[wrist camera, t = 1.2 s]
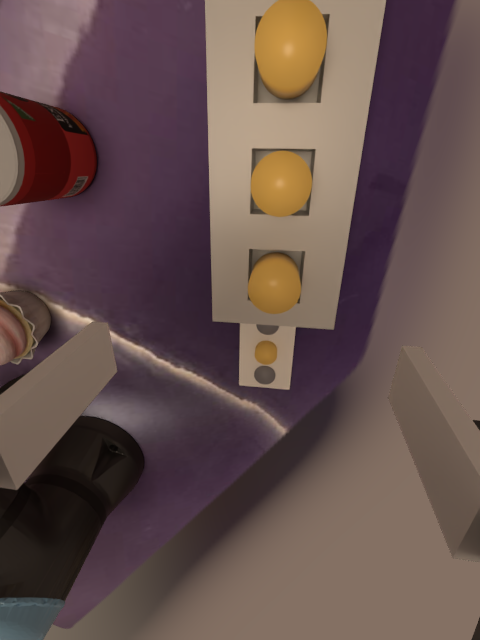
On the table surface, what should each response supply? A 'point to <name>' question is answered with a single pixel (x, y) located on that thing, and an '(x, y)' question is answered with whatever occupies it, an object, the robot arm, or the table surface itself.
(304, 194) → the button mid
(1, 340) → the cupcake
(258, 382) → the pattern card
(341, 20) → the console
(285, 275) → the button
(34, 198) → the canned food
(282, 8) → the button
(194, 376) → the table surface
